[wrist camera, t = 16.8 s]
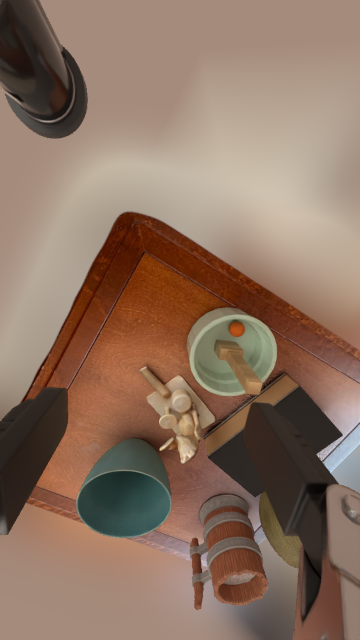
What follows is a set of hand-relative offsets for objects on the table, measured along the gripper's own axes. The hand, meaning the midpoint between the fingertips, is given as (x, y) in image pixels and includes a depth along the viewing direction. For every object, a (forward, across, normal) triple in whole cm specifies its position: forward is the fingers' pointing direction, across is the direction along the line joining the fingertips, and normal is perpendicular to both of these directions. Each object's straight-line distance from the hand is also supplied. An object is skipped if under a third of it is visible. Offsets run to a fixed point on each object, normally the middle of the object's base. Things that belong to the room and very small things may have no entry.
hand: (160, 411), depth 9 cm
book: (+34, -28, +30) cm, 53 cm away
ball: (+32, -16, +6) cm, 36 cm away
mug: (+33, -22, +62) cm, 74 cm away
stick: (+34, -14, +10) cm, 38 cm away
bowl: (+34, -14, +10) cm, 39 cm away
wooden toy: (+34, -5, +25) cm, 43 cm away
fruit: (+33, -36, +52) cm, 72 cm away
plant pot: (+34, +3, +41) cm, 53 cm away
